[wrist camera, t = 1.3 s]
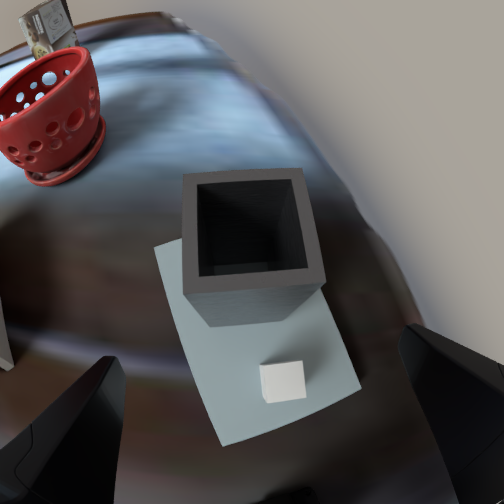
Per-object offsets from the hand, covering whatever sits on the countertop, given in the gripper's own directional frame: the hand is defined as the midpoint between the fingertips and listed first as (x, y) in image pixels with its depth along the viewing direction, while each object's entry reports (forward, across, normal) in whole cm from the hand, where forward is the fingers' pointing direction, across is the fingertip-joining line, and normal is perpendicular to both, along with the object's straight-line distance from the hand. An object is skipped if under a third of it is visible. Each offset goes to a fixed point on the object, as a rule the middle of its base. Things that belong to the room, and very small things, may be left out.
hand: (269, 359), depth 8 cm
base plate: (+11, -1, +8) cm, 14 cm away
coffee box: (+47, +33, -27) cm, 64 cm away
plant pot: (+26, +19, -7) cm, 33 cm away
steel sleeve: (+12, 0, +5) cm, 13 cm away
